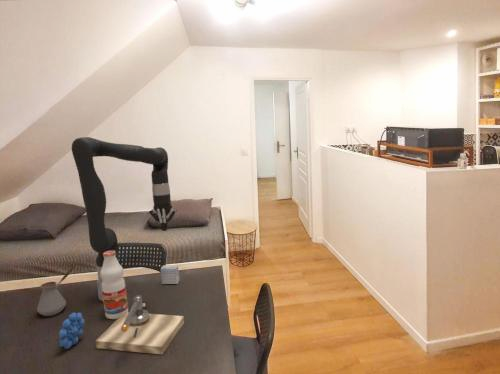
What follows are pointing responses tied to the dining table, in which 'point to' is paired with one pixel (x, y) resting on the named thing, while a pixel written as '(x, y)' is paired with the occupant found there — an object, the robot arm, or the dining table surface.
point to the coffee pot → (51, 298)
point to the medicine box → (170, 274)
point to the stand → (142, 334)
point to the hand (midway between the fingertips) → (164, 230)
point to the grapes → (71, 330)
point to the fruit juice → (113, 286)
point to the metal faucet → (136, 314)
